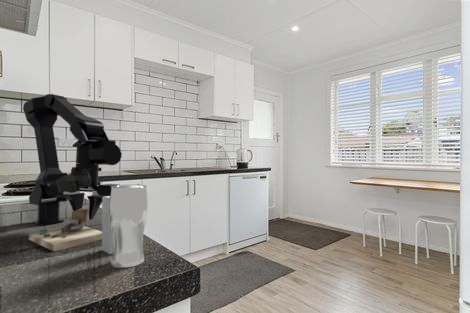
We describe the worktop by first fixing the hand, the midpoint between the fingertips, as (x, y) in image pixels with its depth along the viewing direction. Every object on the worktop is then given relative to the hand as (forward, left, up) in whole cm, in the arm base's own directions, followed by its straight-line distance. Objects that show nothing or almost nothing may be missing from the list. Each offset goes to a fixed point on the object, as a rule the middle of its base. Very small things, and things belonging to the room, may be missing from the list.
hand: (84, 219), depth 73 cm
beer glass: (+30, -6, -3) cm, 31 cm away
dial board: (+5, -6, -3) cm, 9 cm away
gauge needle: (+3, -4, -1) cm, 5 cm away
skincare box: (+22, -3, -3) cm, 22 cm away
